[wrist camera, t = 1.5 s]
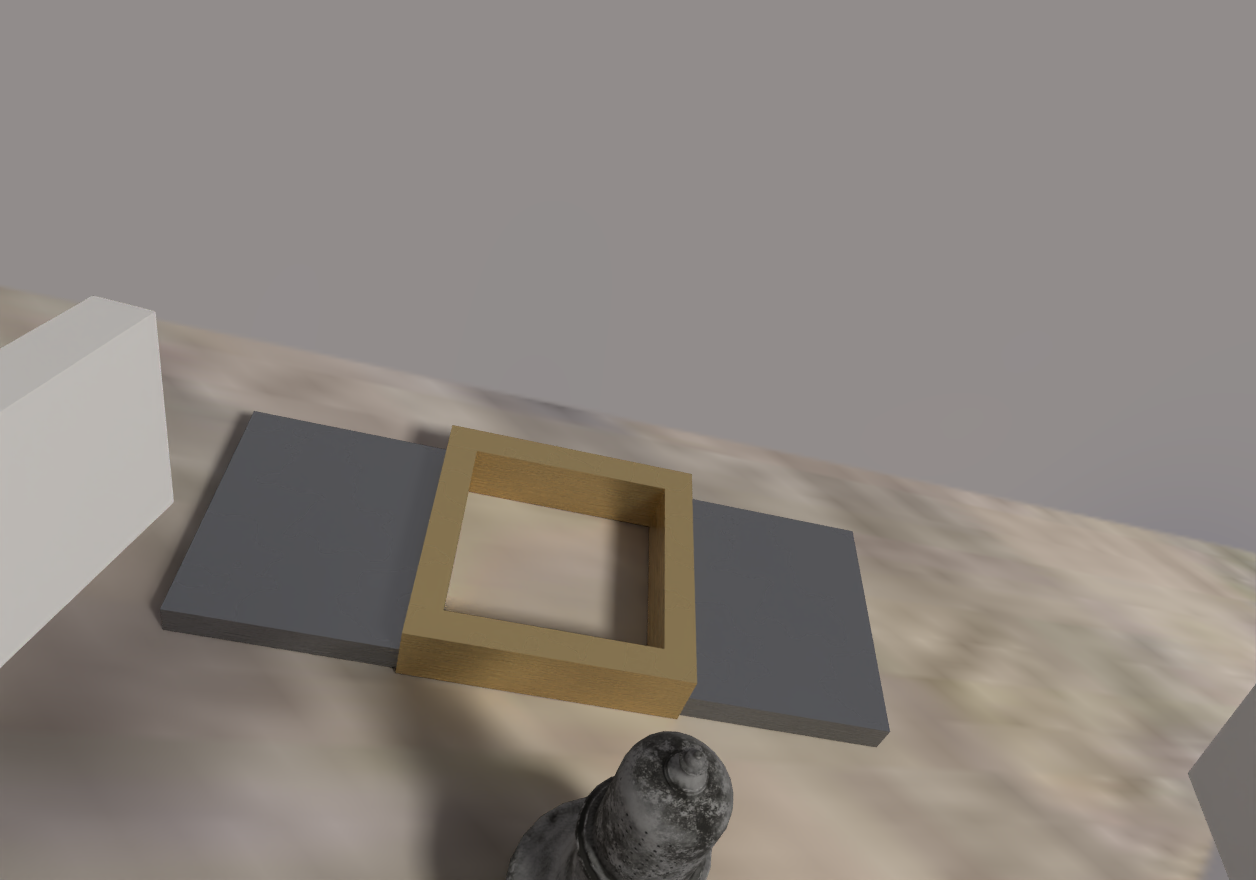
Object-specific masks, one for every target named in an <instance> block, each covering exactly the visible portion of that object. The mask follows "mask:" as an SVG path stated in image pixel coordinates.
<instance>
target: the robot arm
mask: <svg viewBox="0 0 1256 880" xmlns="http://www.w3.org/2000/svg"><path fill="white" fill-rule="evenodd" d="M172 503H174V499H173V489H172V478H171V468H170V458H169V447H168V437H167V427H166V416H165V406H164V396H163V386H162V375H161V365H160V355H159V344H158V334H157V324H156V314H155V311H152V310H148V309H144V308H140V307H136V306H133V305H129V304H124V303H121V302H116V301H113V300H109V299H105V298H101V297H97V296H91V297H90V298H88V299H86V300H84V301H82V302H81V303H79V304H77V305H75V306H74V307H72V308H70V309H68V310H67V311H65V312H63V313H61V314H60V315H58V316H56V317H54V318H53V319H51V320H49V321H47V322H46V323H44V324H42V325H40V326H39V327H37V328H35V329H33V330H32V331H30V332H28V333H26V334H25V335H23V336H21V337H19V338H18V339H16V340H14V341H12V342H11V343H9V344H7V345H5V346H4V347H2V348H0V668H1V667H2V666H3V665H4V664H5V663H6V662H7V661H8V660H9V659H10V658H11V657H12V656H13V655H14V654H15V653H16V652H17V651H18V650H19V649H20V648H22V647H23V646H24V645H25V644H26V643H27V642H28V641H29V640H30V639H31V638H32V637H33V636H34V635H35V634H36V633H37V632H38V631H39V630H40V629H41V628H42V627H44V626H45V625H46V624H47V623H48V622H49V621H50V620H51V619H52V618H53V617H54V616H55V615H56V614H57V613H58V612H59V611H60V610H61V609H62V608H63V607H65V606H66V605H67V604H68V603H69V602H70V601H71V600H72V599H73V598H74V597H75V596H76V595H77V594H78V593H79V592H80V591H81V590H82V589H83V588H84V587H85V586H87V585H88V584H89V583H90V582H91V581H92V580H93V579H94V578H95V577H96V576H97V575H98V574H99V573H100V572H101V571H102V570H103V569H104V568H105V567H106V566H107V565H109V564H110V563H111V562H112V561H113V560H114V559H115V558H116V557H117V556H118V555H119V554H120V553H121V552H122V551H123V550H124V549H125V548H126V547H127V546H128V545H129V544H131V543H132V542H133V541H134V540H135V539H136V538H137V537H138V536H139V535H140V534H141V533H142V532H143V531H144V530H145V529H146V528H147V527H148V526H149V525H150V524H152V523H153V522H154V521H155V520H156V519H157V518H158V517H159V516H160V515H161V514H162V513H163V512H164V511H165V510H166V509H167V508H168V507H169V506H170V505H171V504H172ZM1188 775H1189V778H1190V780H1191V783H1192V785H1193V788H1194V790H1195V793H1196V795H1197V798H1198V801H1199V803H1200V806H1201V808H1202V811H1203V813H1204V816H1205V818H1206V821H1207V824H1208V826H1209V829H1210V831H1211V834H1212V836H1213V839H1214V841H1215V844H1216V847H1217V849H1218V852H1219V854H1220V857H1221V859H1222V862H1223V864H1224V867H1225V870H1226V872H1227V874H1228V877H1229V880H1256V684H1255V686H1254V687H1253V688H1252V690H1251V691H1250V692H1249V694H1248V695H1247V696H1246V697H1245V699H1244V700H1243V701H1242V703H1241V704H1240V705H1239V707H1238V708H1237V709H1236V711H1235V712H1234V713H1233V715H1232V716H1231V717H1230V718H1229V720H1228V721H1227V722H1226V724H1225V725H1224V726H1223V728H1222V729H1221V730H1220V732H1219V733H1218V734H1217V736H1216V737H1215V738H1214V739H1213V741H1212V742H1211V743H1210V745H1209V746H1208V747H1207V749H1206V750H1205V751H1204V753H1203V754H1202V755H1201V757H1200V758H1199V759H1198V761H1197V762H1196V763H1195V764H1194V766H1193V767H1192V768H1191V770H1190V771H1189V772H1188Z"/></svg>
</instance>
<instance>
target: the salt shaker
mask: <svg viewBox="0 0 1256 880" xmlns="http://www.w3.org/2000/svg"><path fill="white" fill-rule="evenodd" d="M732 809H733V789H732V784H731V779H730V777H729V775H728V772H727V770H726V768H725V766H724V764H723V763H722V761H721V760H720V759H719V757H718V756H717V755H716V753H715V752H714V751H712V750H711V749H710V748H709V747H708V746H707V745H706V744H704V743H703V742H701V741H699V740H698V739H696V738H694V737H692V736H690V735H687V734H683V733H679V732H666V731H663V732H659V733H655V734H651V735H649V736H647V737H646V738H644V739H642V740H640V741H639V742H638V743H636V744H635V745H634V746H633V747H632V748H631V749H630V751H629V752H628V753H627V754H626V755H625V757H624V759H623V761H622V762H621V764H620V766H619V768H618V770H617V772H616V774H615V776H613V777H610V778H609V779H607V780H605V781H604V782H602V783H601V784H599V785H597V786H596V788H595V789H594V790H593V791H592V792H591V793H590V794H589V795H588V797H585V798H581V799H578V800H574V801H570V802H567V803H563V804H561V805H559V806H558V807H556V808H554V809H553V810H551V811H549V812H548V813H546V814H544V815H543V816H541V817H540V818H539V819H538V820H537V821H536V822H535V823H534V825H533V826H532V827H531V828H530V829H529V830H528V831H527V832H526V833H525V834H524V835H523V837H522V839H521V841H520V843H519V845H518V846H517V848H516V850H515V852H514V854H513V856H512V858H511V860H510V864H509V868H508V872H507V877H506V880H706V879H707V876H708V873H709V870H710V867H711V852H712V847H713V846H714V845H715V843H716V842H717V841H718V839H719V838H720V837H721V835H722V834H723V832H724V831H725V830H726V828H727V825H728V822H729V819H730V816H731V813H732Z"/></svg>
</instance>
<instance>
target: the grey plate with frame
mask: <svg viewBox="0 0 1256 880" xmlns="http://www.w3.org/2000/svg"><path fill="white" fill-rule="evenodd" d="M468 491H469V492H474V493H479V494H484V495H490V496H495V497H500V498H505V499H510V500H515V501H520V502H525V503H531V504H536V505H541V506H546V507H551V508H556V509H561V510H566V511H572V512H577V513H582V514H587V515H592V516H597V517H602V518H607V519H613V520H618V521H623V522H628V523H633V524H638V525H643V526H648V527H649V571H648V626H647V646H644V645H639V644H633V643H627V642H621V641H616V640H610V639H604V638H599V637H593V636H587V635H582V634H576V633H570V632H565V631H559V630H553V629H547V628H542V627H536V626H530V625H525V624H519V623H513V622H508V621H502V620H496V619H490V618H485V617H479V616H473V615H468V614H462V613H456V612H451V611H445V610H444V606H445V601H446V596H447V592H448V587H449V582H450V577H451V573H452V568H453V563H454V558H455V553H456V549H457V544H458V539H459V534H460V530H461V525H462V520H463V515H464V511H465V506H466V501H467V496H468ZM160 612H161V619H162V627H163V629H164V630H170V631H176V632H182V633H188V634H194V635H200V636H206V637H212V638H218V639H224V640H230V641H236V642H243V643H249V644H255V645H261V646H267V647H273V648H279V649H285V650H291V651H297V652H303V653H309V654H315V655H321V656H327V657H333V658H339V659H345V660H351V661H358V662H364V663H370V664H376V665H382V666H388V667H394V668H396V673H400V674H406V675H412V676H418V677H424V678H430V679H436V680H442V681H448V682H454V683H461V684H467V685H473V686H479V687H485V688H491V689H497V690H503V691H509V692H515V693H521V694H527V695H533V696H540V697H546V698H552V699H558V700H564V701H570V702H576V703H582V704H588V705H594V706H600V707H606V708H613V709H619V710H625V711H631V712H637V713H643V714H649V715H655V716H661V717H667V718H673V719H677V718H678V717H679V715H684V716H690V717H697V718H703V719H709V720H715V721H721V722H727V723H733V724H739V725H745V726H751V727H757V728H763V729H769V730H775V731H781V732H787V733H793V734H799V735H805V736H812V737H818V738H824V739H830V740H836V741H842V742H848V743H854V744H860V745H866V746H872V747H877V746H878V745H879V744H880V743H881V742H882V740H883V739H884V738H885V737H886V736H887V735H888V734H889V732H890V729H889V724H888V718H887V713H886V708H885V702H884V697H883V692H882V686H881V681H880V676H879V670H878V665H877V660H876V654H875V649H874V644H873V638H872V633H871V628H870V622H869V617H868V612H867V606H866V601H865V596H864V590H863V585H862V580H861V574H860V569H859V563H858V558H857V553H856V547H855V542H854V537H853V531H848V530H843V529H838V528H833V527H828V526H823V525H818V524H813V523H808V522H803V521H798V520H793V519H788V518H784V517H779V516H774V515H769V514H764V513H759V512H754V511H749V510H744V509H739V508H734V507H729V506H724V505H719V504H714V503H709V502H704V501H699V500H694V499H692V474H689V473H684V472H679V471H674V470H669V469H664V468H659V467H654V466H650V465H645V464H640V463H635V462H630V461H625V460H620V459H615V458H611V457H606V456H601V455H596V454H591V453H586V452H581V451H576V450H572V449H567V448H562V447H557V446H552V445H547V444H542V443H537V442H533V441H528V440H523V439H518V438H513V437H508V436H503V435H498V434H494V433H489V432H484V431H479V430H474V429H469V428H464V427H459V426H455V425H452V429H451V433H450V438H449V442H448V446H447V450H445V449H440V448H435V447H430V446H425V445H420V444H415V443H410V442H405V441H400V440H395V439H390V438H386V437H381V436H376V435H371V434H366V433H361V432H356V431H351V430H346V429H341V428H336V427H331V426H326V425H321V424H316V423H311V422H306V421H301V420H296V419H291V418H286V417H281V416H276V415H271V414H266V413H261V412H256V411H254V413H253V415H252V417H251V419H250V421H249V423H248V425H247V427H246V429H245V432H244V434H243V436H242V438H241V440H240V442H239V444H238V446H237V448H236V450H235V453H234V455H233V457H232V459H231V461H230V463H229V465H228V467H227V469H226V471H225V474H224V476H223V478H222V480H221V482H220V484H219V486H218V488H217V490H216V492H215V495H214V497H213V499H212V501H211V503H210V505H209V507H208V509H207V511H206V514H205V516H204V518H203V520H202V522H201V524H200V526H199V528H198V530H197V532H196V535H195V537H194V539H193V541H192V543H191V545H190V547H189V549H188V551H187V553H186V556H185V558H184V560H183V562H182V564H181V566H180V568H179V570H178V572H177V575H176V577H175V579H174V581H173V583H172V585H171V587H170V589H169V591H168V593H167V596H166V598H165V600H164V602H163V604H162V606H161V608H160Z"/></svg>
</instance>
